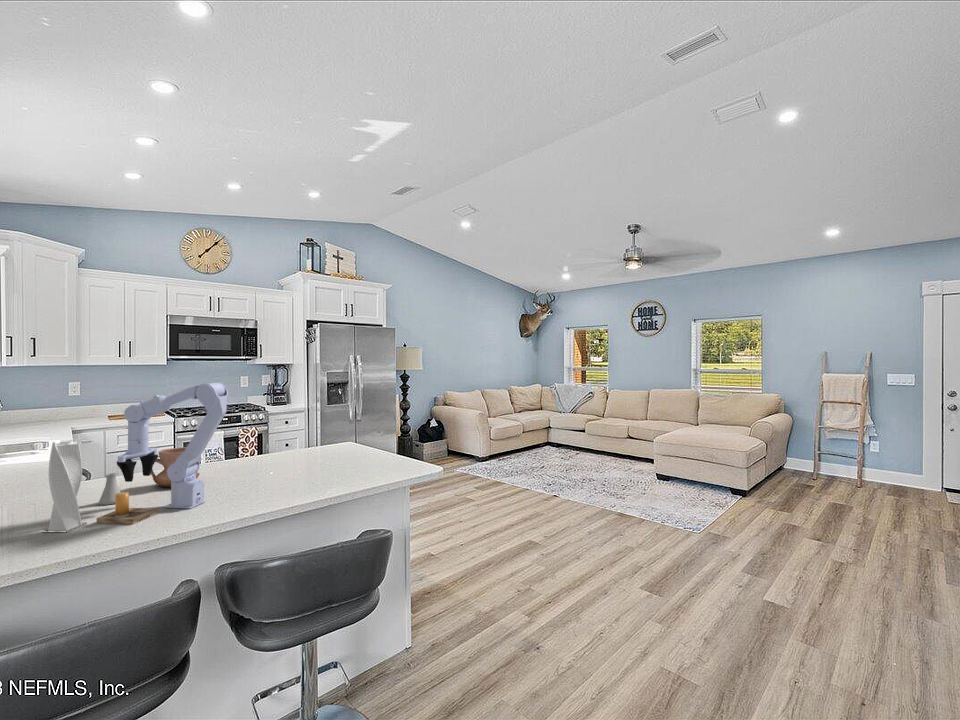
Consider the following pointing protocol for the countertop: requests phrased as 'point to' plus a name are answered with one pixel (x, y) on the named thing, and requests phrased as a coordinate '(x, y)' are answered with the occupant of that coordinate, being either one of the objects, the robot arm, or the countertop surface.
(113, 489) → the flask
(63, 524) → the skyscraper
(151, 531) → the countertop surface
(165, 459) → the ceramic jug
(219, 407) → the robot arm
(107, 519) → the wooden tray
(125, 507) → the orange upright cylinder
